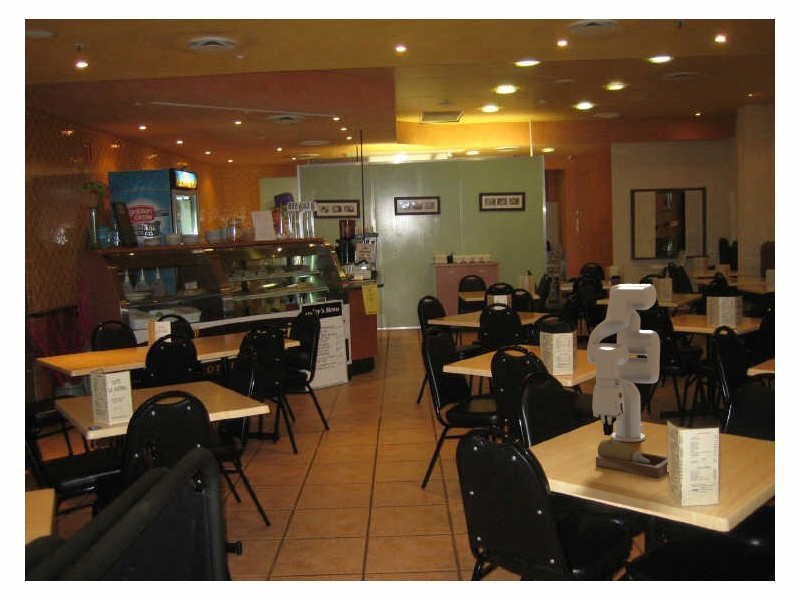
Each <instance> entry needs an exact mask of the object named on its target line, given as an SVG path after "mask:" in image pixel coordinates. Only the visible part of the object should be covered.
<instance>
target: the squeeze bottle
mask: <svg viewBox="0 0 800 600" xmlns="http://www.w3.org/2000/svg"><path fill="white" fill-rule="evenodd" d="M642 453H643V452H640V451H637V448H636V447H633V446H630V445H628V444H627V443H626V444H625V443H623V442H622V441H617V440H614V439H612V438H611V439H603V440H601V441H600V443H599V444H598V447H597V456H601V457H607V458H613V459H618V460H624V461H630V462H635V463H643V464H650V460H648V459H646V458H644V457H643V456H642Z"/></svg>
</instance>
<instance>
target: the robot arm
mask: <svg viewBox="0 0 800 600" xmlns="http://www.w3.org/2000/svg"><path fill="white" fill-rule="evenodd" d="M657 295H658V294H657V290H656V287H655V286H654V285H653V284H650V283H647V284H645V283H643V284H642V283H641V284H640V283H639V284H638V283H635V284H634V283H633V284H632V283H625V284H623V283H622V284H615V285H613V286H612V287H610V289H609V299H608V305H607V311H606V317H605V319H604V320H603V321H602V322H600V323H599V324H598V325H597V326H596V327H594V329H593V330H592V331H591V333H590V336H589V337H588V338H589V339H588V344H587V348H586V358H587V360H588V362H589V363H590V364H593V365H595V381H596V383H595V385H594V388H593V394H592V412H593V413H592V414H593V417H595V418H598V419H599V420H600V422H601V424H603V425H602V426H603V427H602V429H603V431H602V432H603V435H604V436H608V437H609V436H610V437H611V440H612V439H613V440H616V441H618V442H621V443H623V442H624V443H636V442H642V441H644V440H645V439H646V435H645V434H643V433H642V431H641V430H643V428H644V425H643V423H641V419H642V418H641V393H640V390H639V389H638V387H637V386H636V385H635V384H655V383H657V382H658V381H659V378H660V377H659V376H660V360H661V358H660V357H661V356H660V354H661V340H660V336H659V334H658V332H656V331H654V330H647V329H646V330H643V329H641V316H640V315H639V314H638V312H637V311H638V310H639V311H641V310H642V311H646V310H649V309H650V308H653V306H654V305H655V304H656V301H657ZM615 334H616V343H605V342H601V341H602V340H603V339H606V338H608V337H609V336H613V335H615ZM600 342H601V343H600ZM630 355H633V356H634V355H636V356H637V355H638V356H646V357H645V358H644V357H641V358H639V357H630ZM614 431H615V432H614Z"/></svg>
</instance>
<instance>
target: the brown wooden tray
mask: <svg viewBox="0 0 800 600" xmlns="http://www.w3.org/2000/svg"><path fill="white" fill-rule="evenodd" d="M641 453H642V456H643V457H644V458H646V459H648V460H650V464H643V463H635V462H630V461H624V460H618V459H613V458H607V457H601V456H599V455H597V456H595V467H596V468H600V469H606V470H610V471H615V472H622V473H627V474H632V475H637V476H643V477H647V478H653V479H658V480H659V479H660V478H661V477H663V476H664V475H666V474H668V473H667V465H668V457H669V456H668V457H667V456H664V455H657V454H652V453H651V454H650V453H645V452H641Z"/></svg>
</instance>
